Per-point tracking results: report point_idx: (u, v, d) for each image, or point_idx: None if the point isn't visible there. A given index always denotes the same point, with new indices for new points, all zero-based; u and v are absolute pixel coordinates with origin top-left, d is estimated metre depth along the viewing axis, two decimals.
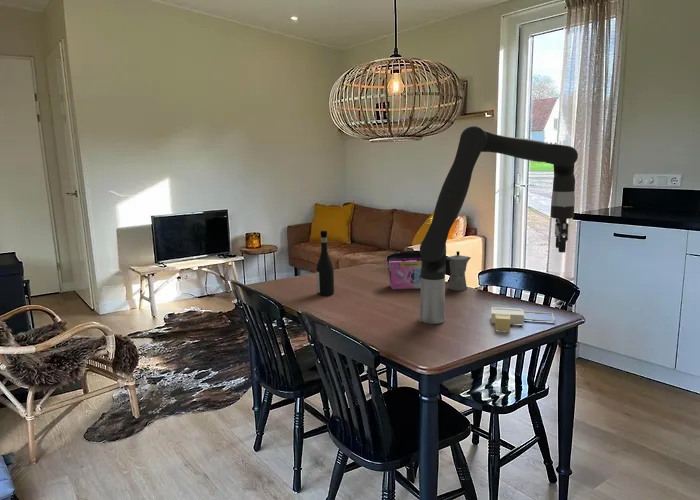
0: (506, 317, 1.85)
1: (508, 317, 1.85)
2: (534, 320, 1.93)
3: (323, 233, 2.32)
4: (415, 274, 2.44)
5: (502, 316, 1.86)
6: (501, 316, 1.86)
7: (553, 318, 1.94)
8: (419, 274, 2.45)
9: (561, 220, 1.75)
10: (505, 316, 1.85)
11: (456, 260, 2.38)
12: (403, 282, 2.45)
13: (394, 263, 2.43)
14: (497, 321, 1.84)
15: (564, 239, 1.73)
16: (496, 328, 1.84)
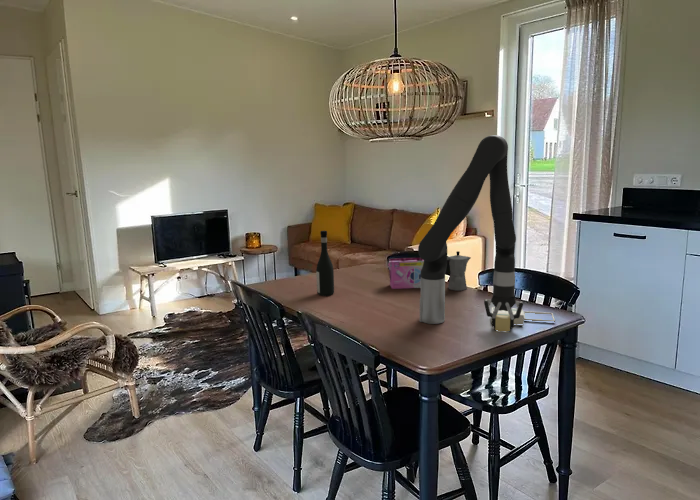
0: (506, 317, 1.85)
1: (508, 317, 1.84)
2: (534, 320, 1.93)
3: (323, 233, 2.32)
4: (415, 273, 2.45)
5: (502, 316, 1.86)
6: (501, 316, 1.86)
7: (553, 318, 1.94)
8: (418, 274, 2.45)
9: None
10: (505, 316, 1.85)
11: (456, 260, 2.38)
12: (402, 281, 2.45)
13: (394, 263, 2.44)
14: (497, 321, 1.84)
15: None
16: (496, 328, 1.84)
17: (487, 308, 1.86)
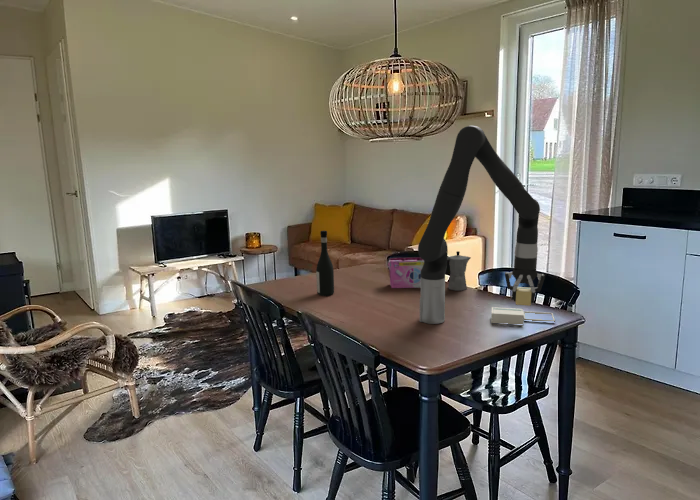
0: (527, 290, 1.81)
1: (529, 290, 1.81)
2: (534, 320, 1.93)
3: (323, 233, 2.32)
4: (414, 273, 2.46)
5: (523, 289, 1.82)
6: (522, 289, 1.82)
7: (553, 318, 1.94)
8: (418, 273, 2.46)
9: None
10: (525, 289, 1.82)
11: (456, 260, 2.38)
12: (402, 281, 2.46)
13: (393, 262, 2.45)
14: (518, 294, 1.80)
15: None
16: (517, 301, 1.81)
17: (508, 281, 1.82)
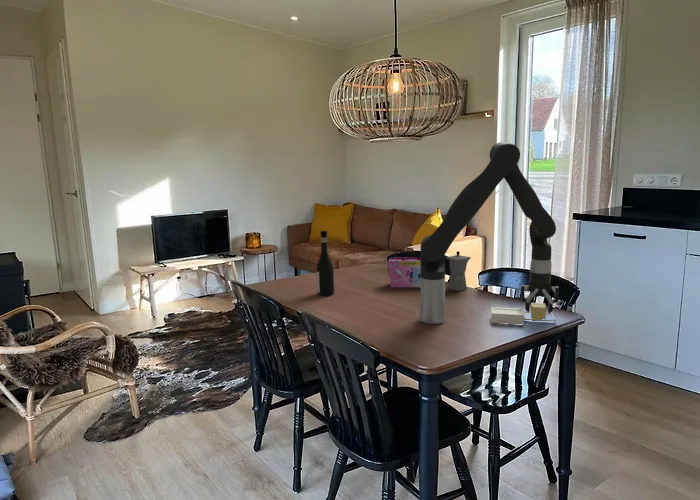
0: (542, 306, 1.95)
1: (544, 306, 1.95)
2: (534, 320, 1.93)
3: (323, 233, 2.32)
4: (414, 273, 2.46)
5: (538, 305, 1.96)
6: (537, 305, 1.96)
7: (553, 318, 1.94)
8: (417, 273, 2.46)
9: (550, 284, 1.93)
10: (540, 305, 1.96)
11: (456, 260, 2.38)
12: (401, 280, 2.47)
13: (392, 261, 2.46)
14: (533, 310, 1.94)
15: None
16: (532, 316, 1.95)
17: (523, 293, 1.96)
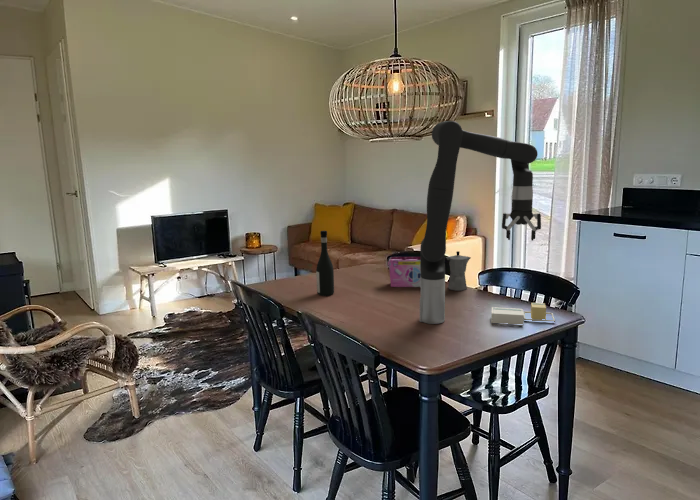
0: (542, 306, 1.95)
1: (544, 306, 1.95)
2: (534, 320, 1.93)
3: (323, 233, 2.32)
4: (413, 272, 2.47)
5: (538, 305, 1.96)
6: (537, 305, 1.96)
7: (553, 318, 1.94)
8: (417, 273, 2.47)
9: None
10: (540, 305, 1.96)
11: (456, 260, 2.38)
12: (401, 280, 2.48)
13: (392, 261, 2.47)
14: (533, 310, 1.94)
15: None
16: (532, 316, 1.95)
17: (504, 220, 1.96)
